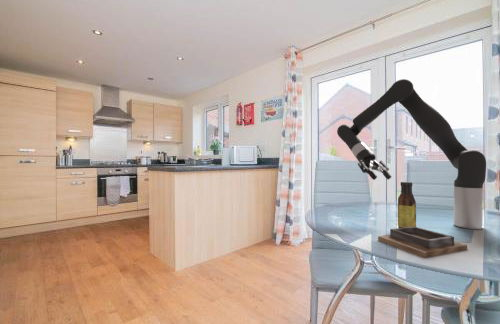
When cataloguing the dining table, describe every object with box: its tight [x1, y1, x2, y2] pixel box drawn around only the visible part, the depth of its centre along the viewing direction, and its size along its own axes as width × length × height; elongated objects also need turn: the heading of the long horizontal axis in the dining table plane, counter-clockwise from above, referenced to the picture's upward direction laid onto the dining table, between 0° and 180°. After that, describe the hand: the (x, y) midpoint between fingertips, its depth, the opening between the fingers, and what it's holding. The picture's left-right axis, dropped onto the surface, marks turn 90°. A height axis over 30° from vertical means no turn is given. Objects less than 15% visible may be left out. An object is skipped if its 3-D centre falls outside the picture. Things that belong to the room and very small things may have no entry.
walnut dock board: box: [377, 226, 468, 259], centre depth 80 cm, size 20×16×4 cm
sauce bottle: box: [397, 181, 417, 228], centre depth 96 cm, size 6×6×20 cm
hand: (382, 178), depth 107 cm, fingers open, 8 cm apart
